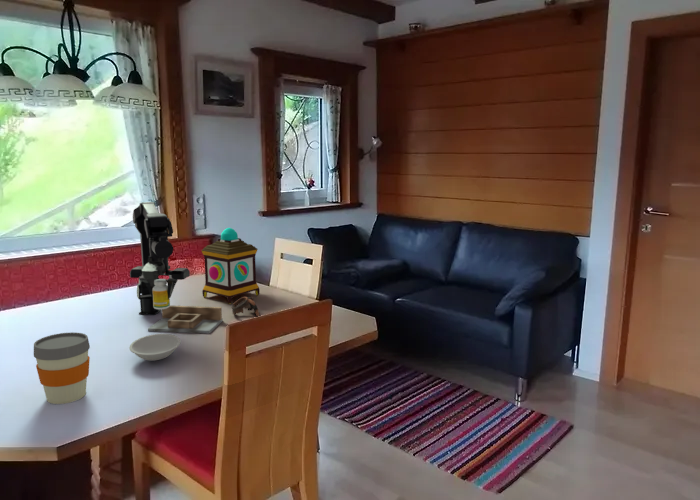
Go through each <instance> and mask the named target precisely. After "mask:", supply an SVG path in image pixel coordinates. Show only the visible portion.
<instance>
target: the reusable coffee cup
mask: <svg viewBox="0 0 700 500" xmlns="http://www.w3.org/2000/svg"><path fill="white" fill-rule="evenodd" d="M90 348H91V347H90V342H89V337H88V335H87V334H85V333H82V332H73V331H72V332H71V331H70V332H61V333H54V334H50V335H47V336H44V337H41V338H39V339H37V340H36V341H35V342H34V343H33V357H34V358H35V359H36V364H35V367H36V372H37V375H38V379H39V382H40V385H42V386H43V391H44V394H45V398H46V402H48V403H49V404H52V405H62V404H63V405H64V404H70V403H72V402H77V401H79V400H81V399H82V398H84V397H85V395H86V394H87V379H88V378H87V377H89V375H90V374H89V373H90V359H91V358H90V356H89V350H90Z"/></svg>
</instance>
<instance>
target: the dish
mask: <svg viewBox="0 0 700 500" xmlns="http://www.w3.org/2000/svg"><path fill="white" fill-rule="evenodd" d="M180 344H181V338H180V337H178V336H177V335H174V334H169V333H156V334H151V335H150V334H148V335H146V336H143V337H140V338H138V339H135V340H134V341H133V342H132V343H131V344H130V345H129V351H130V352H131V353H133V354H134V355H135V356H137V357H138V358H140V359H143V360H145V361H152V362H153V361H159V360H163V359H165V358H167V357H169V356H170V355H172V353H174V351H175V350H176V349H177V348H178V347H179V346H180Z"/></svg>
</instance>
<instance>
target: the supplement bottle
mask: <svg viewBox="0 0 700 500" xmlns="http://www.w3.org/2000/svg"><path fill="white" fill-rule="evenodd" d="M166 280H167V278H159V279H157V280H154V285H155V286H154V287H153V289H152V290H153V307H154V308H155V309H167V308H169V307H170V305H171V301H170V298H171V297H170V298H168V283H167V281H166Z"/></svg>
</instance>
